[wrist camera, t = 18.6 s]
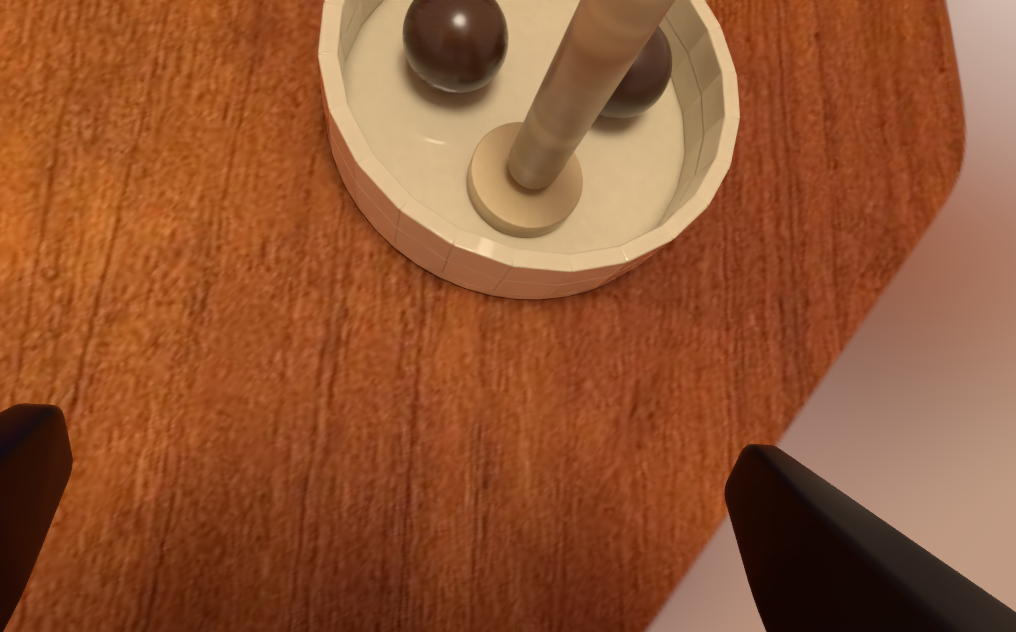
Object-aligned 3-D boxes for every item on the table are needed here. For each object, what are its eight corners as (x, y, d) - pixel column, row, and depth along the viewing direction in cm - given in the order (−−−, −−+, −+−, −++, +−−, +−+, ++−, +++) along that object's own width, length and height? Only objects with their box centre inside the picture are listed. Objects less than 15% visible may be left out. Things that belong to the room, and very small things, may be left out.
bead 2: (659, 130, 22) (684, 15, 20) (556, 114, 22) (573, 1, 21) (660, 121, 25) (681, 21, 24) (570, 107, 25) (585, 9, 24)
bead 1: (522, 104, 22) (536, -12, 21) (430, 101, 20) (438, -27, 19) (468, 87, 25) (478, -17, 23) (382, 82, 23) (386, -31, 21)
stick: (510, 258, 22) (837, -208, 7) (444, 167, 22) (619, -474, 7) (595, 203, 23) (1028, -295, 8) (531, 117, 24) (837, -518, 8)
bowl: (699, 314, 24) (753, 289, 21) (306, 282, 21) (296, 246, 18) (681, -5, 27) (726, -70, 24) (343, -71, 24) (340, -156, 21)
